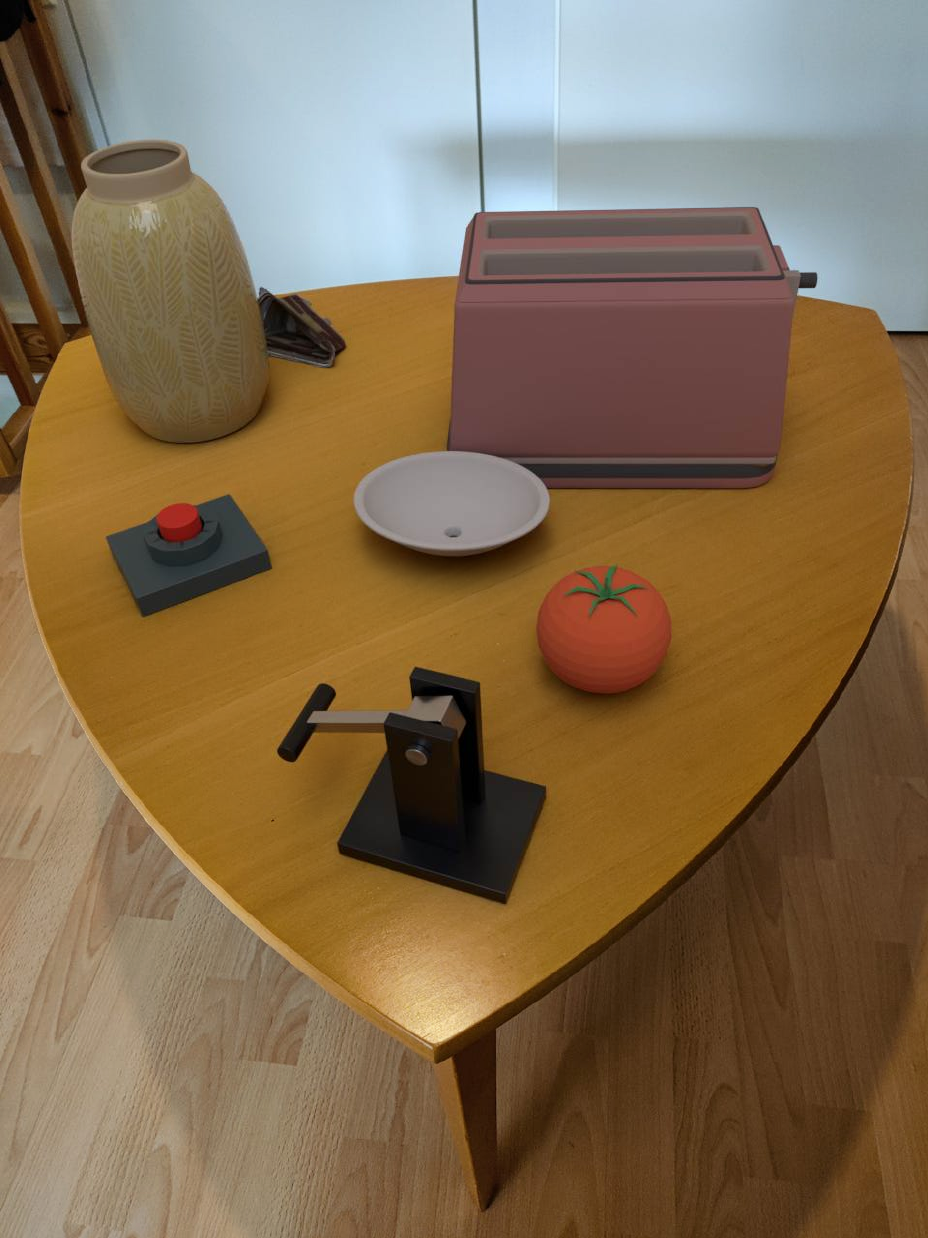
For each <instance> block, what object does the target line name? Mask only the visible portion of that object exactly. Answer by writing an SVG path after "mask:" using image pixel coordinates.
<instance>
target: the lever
mask: <svg viewBox="0 0 928 1238" xmlns="http://www.w3.org/2000/svg"><path fill="white" fill-rule="evenodd" d="M336 696H337V692H336V690H335V688H334V687H333V686H332V685H330V684H328V683H324V682H322V683H319V684H317V686H316V687H315V689H314V690H313V692H312V694H311V696H310V697H309V698H308V700H307V702H306V703H305V705H304V707H303V708H302V709H301V711H300V712H299V714H298V716H297V717H296V719H295V720H294V722H293V724H292V725H291V726H290V728H289V730H288V732H287V733H286V735H285V736H284V738H283V740H282V741H281V742H280V744H279V746H278V747H277V749H276V754H277V755H278V757H279V758H281V759H282V760H283V761H285V762H288V763H295V762H297V761H298V759H299V758H300V755H301V754H302V752H303V751H304V749H305V747H306V746H307V744H308V743H309V741H310V739H311V738H312V736H313V735H314V734H315V733H316V734H319V733H320V734H329V733H330V734H385V732H384V725H383V723H384V721H385V720H386V718H387V716H388V714H389V712H392V713H395V714H399V715H403V716H407V717H411V718H415V719H419V720H423V721H427V722H431V723H434V724H438V725H442V726H446V727H450V728H454V729H457V732H458V739H459V737H460V735H461V733H462V731H463V729H464V727H465V724H466V720H465V718H464V716H463V714H462V712H461V711H460V709H459V707H458V705H457V703H456V701H455V699H454V697H453V696H415V697H414V699H413V701H412V700H411V702H410V704H409V706H408V708H407V709H398V710H396V709H395V710H394V709H389V710H387V709H386V710H380V709H379V710H329V708H330V706H331V705H332V703H333V701H334V700H335V698H336Z"/></svg>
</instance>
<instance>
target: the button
mask: <svg viewBox="0 0 928 1238" xmlns="http://www.w3.org/2000/svg"><path fill="white" fill-rule="evenodd" d="M193 505H194V504H190V503H185V502H180V503H179V502H178V503H173V504H170V505H168V506H165V507H164V508H163V509H161V510H160V511H159V512H158V513H157V514H158V515H157V514H156V515H157V523H158V526H159V529H160V532H161V535H162V537H163V539H165V540H166V541H168V542H183V541H186V540H189V539H192V538H195V537H196V536H197V535H198V534H199V533H200V532H201V530H202V524H201V521H200V517H199V514H198V510H197V509H196V507H195V506H193Z"/></svg>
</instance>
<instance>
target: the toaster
mask: <svg viewBox="0 0 928 1238" xmlns="http://www.w3.org/2000/svg"><path fill="white" fill-rule="evenodd" d="M457 279H458V280H457V286H456V293H455V301H454V311H453V312H454V314H453V339H452V367H451V368H452V370H451V371H452V372H451V392H450V394H451V395H450V415H449V416H450V417H449V423H448V431H447V433H448V434H447V438H446V439H447V440H446V451H463V452H474V453H481V454H487V455H492V456H496V457H499V458H503V459H506V460H509V461H511V462H514V463H516V464H518V465H520V466H522V467H524V468H526V469H528V470H529V471H531V472H532V473H534V474H535V475H536V476H537V477H538V478H539V479H540V480H541V481H542V482H543V483H544V485H545V486H546V488H547V489H749V488H757V487H759V486H762V485H764V484H766V483H767V482H769V480H770V479H771V478H772V477H773V476H774V475H775V469H776V464H777V461H778V454H779V453H780V450H781V447H782V446H781V445H782V436H783V435H782V434H783V424H784V416H785V415H784V413H785V405H786V404H785V403H786V393H787V392H786V391H787V383H788V382H787V381H788V372H789V360H790V352H791V351H790V347H791V339H792V330H793V329H792V328H793V318H794V313H795V308H796V303H797V297H798V294H799V293H798V292H799V289H815V288H816V287H817V285H818V273H817V272H816V271H815V272H814V271H812V272H810V271H808V272H806V271H805V272H801V271H800V270H798V269H790V266H789V265H788V262H787V260H786V257H785V254H784V252H783V250H782V247H781V245H779V244H773V241H772V239H771V236H770V234H769V231H768V228H767V226H766V223H765V221H764V218H763V216H762V214H761V210H760V209H759V208H758V207H756V206H731V207H728V206H727V207H681V208H679V207H678V208H677V207H676V208H675V207H674V208H629V209H627V208H626V209H572V210H571V209H570V210H522V211H521V210H519V211H518V210H514V211H479V212H475V213H474V214H473V217H472V218H471V220H470V221H469V222H468V224H467V226H466V227H465V232H464V238H463V245H462V253H461V260H460V266H459V273H458V278H457Z"/></svg>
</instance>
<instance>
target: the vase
mask: <svg viewBox="0 0 928 1238" xmlns="http://www.w3.org/2000/svg"><path fill="white" fill-rule="evenodd" d="M80 169H81V172H82V175H83V178H84V182H85V184H86V186H87V187H86V188H85V189H84V191H83V192H82V194H81V195H80V197H79V199H78V201H77V203H76V205H75V209H74V211H73V215H72V220H71V235H70V236H71V248H72V256H73V262H74V269H75V275H76V280H77V285H78V288H79V294H80V297H81V302H82V305H83V309H84V313H85V317H86V321H87V325H88V328H89V331H90V335H91V337H92V341H93V344H94V348H95V350H96V354H97V357H98V360H99V363H100V366H101V368H102V372H103V374H104V377H105V379H106V382H107V385H108V387H109V390H110V392H111V395H112V397H113V398H114V401H115V402H116V404H117V405H118V407H119V408H120V409H121V410H122V412H123V413H124V415H126V416H127V417H128V419H129V420H130V421H132V423H134V424H135V425H136V426H137V427H138V428H139V429H140V430H141V431H142V432H144V433H145V434H146V435H148V436H150V437H151V438H153V439H157V440H160V441H161V442H162V441H163V442H167V443H176V444H193V443H194V444H195V443H201V442H207V441H212V440H215V439H220V438H222V437H225V436H227V435H230V434H232V433H234V432H236V431H238V430H240V429H242V428H243V427H244V426H246V425H247V424H248V423H250V422H251V421H252V420H253V419H254V418H255V417H256V415H257V414H258V412H259V411H260V409H261V406H262V404H263V401H264V397H265V394H266V392H267V389H268V385H269V377H270V360H269V359H270V357H269V354H268V350H267V343H266V338H265V332H264V326H263V322H262V317H261V312H260V308H259V303H258V296H257V292H256V287H255V284H254V280H253V275H252V272H251V268H250V265H249V261H248V257H247V255H246V254H247V253H246V251H245V249H244V245H243V243H242V239H241V237H240V236H241V235H240V234H239V231H238V228H237V226H236V223H235V221H234V218H233V216H232V214H231V212H230V209H229V208H228V206H227V204H226V203H225V201H224V199H223V198H222V197H221V195H220V194H219V192H218V191H217V190H216V189H215V188H214V186H213V185H211V184H210V183H209V182H208V181H207V180H206V179H205V178H204V177H202V176H200V175H199V174H197V173H196V172H194V171H193V170H192V168H191V163H190V157H189V153H188V151H187V148H186V147H185V146H184V145H183V144H181V143H180V142H179V143H178V142H176V141H171V140H166V139H140V140H139V139H138V140H129V141H124V142H120V143H114V144H112V145H108V146H105V147H102V148H100V149H97V150H95V151H93V152H91V153H90V154H88V155H87V156H85V158H83V160H82V161H81V164H80Z"/></svg>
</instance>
